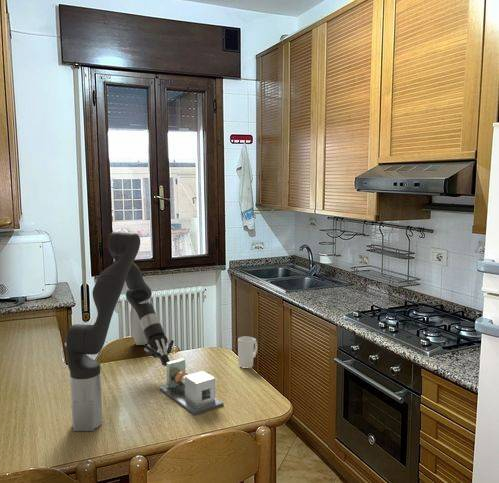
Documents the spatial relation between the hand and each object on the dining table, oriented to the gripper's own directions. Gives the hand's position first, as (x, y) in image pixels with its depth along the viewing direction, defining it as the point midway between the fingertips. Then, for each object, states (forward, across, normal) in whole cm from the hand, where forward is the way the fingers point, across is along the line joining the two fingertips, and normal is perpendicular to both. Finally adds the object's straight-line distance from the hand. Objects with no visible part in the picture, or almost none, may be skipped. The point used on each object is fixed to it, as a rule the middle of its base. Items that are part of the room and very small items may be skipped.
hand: (166, 365), depth 188 cm
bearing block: (+17, 0, -8) cm, 19 cm away
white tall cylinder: (-26, +11, +36) cm, 46 cm away
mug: (+10, +36, 0) cm, 37 cm away
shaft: (+13, 0, -6) cm, 15 cm away
